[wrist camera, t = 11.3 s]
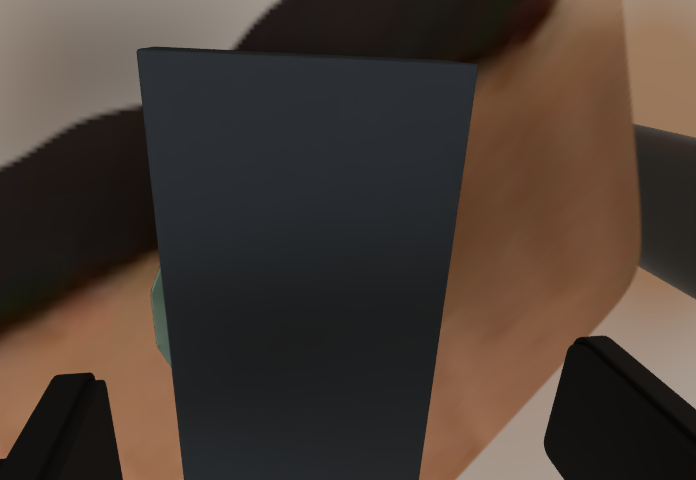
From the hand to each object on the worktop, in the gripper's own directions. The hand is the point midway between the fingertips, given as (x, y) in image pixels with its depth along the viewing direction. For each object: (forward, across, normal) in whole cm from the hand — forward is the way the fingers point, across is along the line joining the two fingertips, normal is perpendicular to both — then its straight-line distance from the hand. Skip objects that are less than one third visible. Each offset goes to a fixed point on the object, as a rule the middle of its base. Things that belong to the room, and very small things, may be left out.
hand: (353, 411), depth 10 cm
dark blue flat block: (+4, +1, 0) cm, 4 cm away
